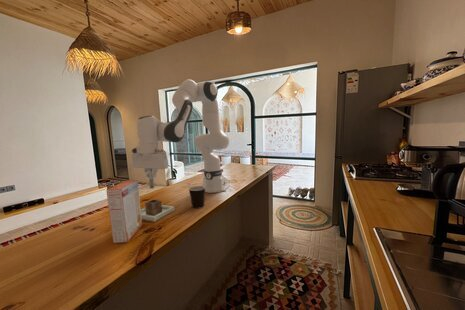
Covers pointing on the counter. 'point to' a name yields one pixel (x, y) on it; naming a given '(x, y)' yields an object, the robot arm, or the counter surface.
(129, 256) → the counter surface
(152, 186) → the rod
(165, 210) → the sage dish
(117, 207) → the cracker box
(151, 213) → the walnut block
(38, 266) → the counter surface
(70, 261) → the counter surface
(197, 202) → the coffee mug
